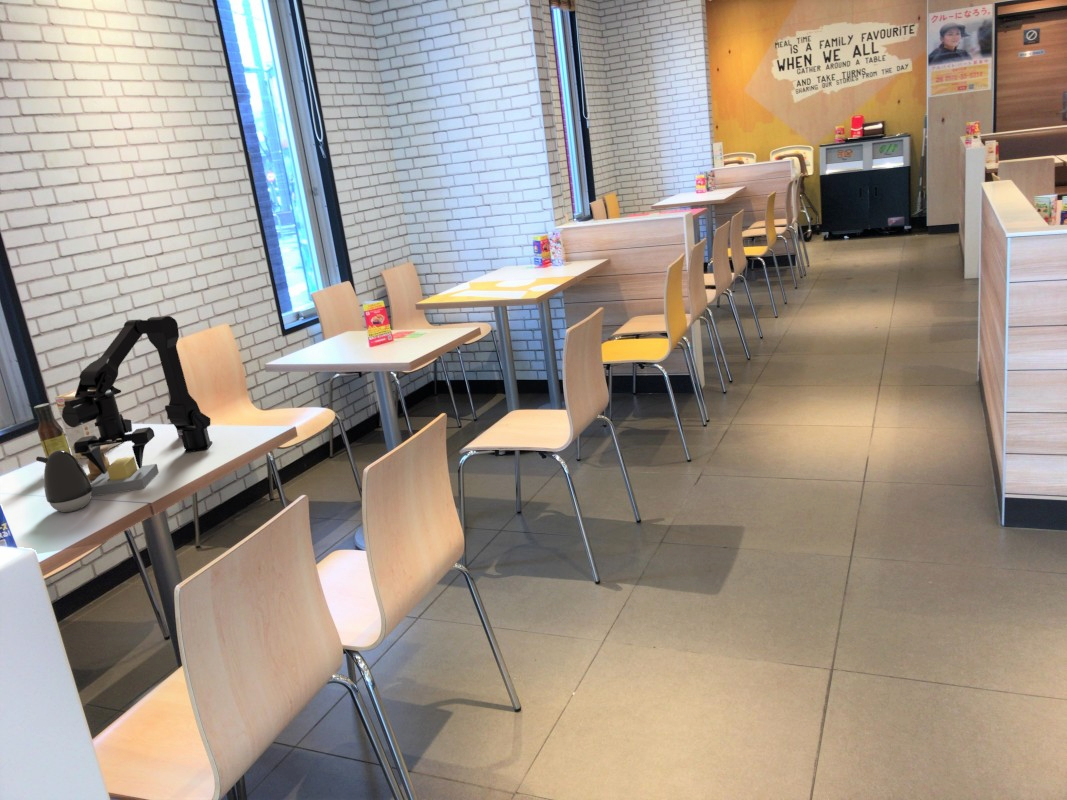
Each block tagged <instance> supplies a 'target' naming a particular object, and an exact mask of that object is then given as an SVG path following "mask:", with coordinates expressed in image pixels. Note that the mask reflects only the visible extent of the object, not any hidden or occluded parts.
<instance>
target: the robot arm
mask: <svg viewBox="0 0 1067 800" xmlns="http://www.w3.org/2000/svg"><path fill="white" fill-rule="evenodd" d="M143 335H146V336H147V338H148V340H149V342H150V343H151V344H152V346H153V347H154V348H155V349H156V350H157V352H158V353H157V354H158V356H159V360H160V364H161V367H162V371H163V375H164V379H165V382H166V386H167V389H168V390H169V393H170V398H171V399H170V401H169V402H168V404H167V405H165V406H164V409H165V412H166V416H167V420H169V421H170V423H171V424H173V425H174V427H175V429H176V431H177V430H182V434H183V435H182V436H181V438H180V439H181V441H182V445H183V449H184V453H190V452H197V451H204V450H208V449H209V448H210V447H211V445H212V444H213V441H212V440H211V439H210V435H209V431H208V427H210V426H211V417H209V416H207V415H206V414H205V413H203V412H201V409H200V407H199V405H198V402H197V401H196V400H195V399H194V398H193V397H192V396H191V394H190V393H189V390H188V386H187V382H186V379H185V375H184V371H183V367H182V363H181V360H180V356H179V351H178V348H177V344H178V341H179V336H180V333H179V325H178V322H177V320H176V318H174V317H172V316H170V315H166V316H164V315H162V316H150V317H148V318H147V319H145V320H144V319H140V318H139V319H129V320H127V321H125V322H124V324H123V327H122V329H121V330H120V331H119V333H118V334H117V335H116V337H115V338H114V339H113V341H112V342H110V344H109V346H108V347H107V348H106V350H105V351H104V353H102V355H101V356H100V357H99V358H98V359H96V360H94V361H92V362H91V363H89V364H88V365H87V366H86V367H85V368H84V369H83V370H82V371H81V372H80V374H79V382H78V385H77V388H76V389H77V391H76V394H75V399H72V400H67V401H65V402H64V403H65V407H64V408H63V411H62V417H63V420H64V421H65V423H66V424H67V425H68V426H70V427H77V426H79V425H82V424H85V423H87V422H90V421H92V420H95V419H96V422H95V427H96V426H98V429H99V433H100V436H101V437H99V439H97V437H96V436H95V435H94V436H88V437H81V438H80V439H79V440H78V441H76V442H75V443H74V446H73V448H74V451H75V453H76V454H77V453H81V456H86V457H87V458H86V459H88V461H89V460H90V461H92V462H93V463H94V464H95V465H96V466H97V468H98V469H99V470H100V471H101V472H102V473H103V474H105V473H106V468H105V465H104V462H103V459H102V456H101V453H100V446H101V445H107V444H114V443H120V444H122V443H126V442H131V443H132V444H133V445H132V446H131V447H132V452H133V455H134V459H135V462H136V466H137V468H138V469H139V468H141V467H142V466H143V460H144V457H143V456H144V451H145V446H146V445H147V444H148V443H149V442H150V441H151V440H152V439H153V438H154V437H156V435H155V432H154V429H152V428H151V427H150V426H148V427H143V428H136V429H135V430H134V431H133V425H132V420H131V419H127V418H126V419H125V418H124V416H123V414H122V413H120V410H119V407H118V404H117V399H116V397H115V395H118V394H121V393H122V390H121V389H119V388H117V387H115V386H114V384H115V382H116V380H117V379H118V376H119V369H120V366H121V364H122V363H123V362H124V360H125V359H126V358H127V356H128V354H129V353H130V352H131V350H132V349H133V348H134V346H135V345H136V344H137V342H138V341H139V340H140V338H141V337H142V336H143ZM88 390H96V391H88ZM168 390H167V391H168ZM130 432H131V433H130ZM117 439H119V440H117ZM107 440H111V441H107ZM121 442H122V443H121Z"/></svg>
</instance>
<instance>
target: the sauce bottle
mask: <svg viewBox="0 0 1067 800" xmlns="http://www.w3.org/2000/svg"><path fill="white" fill-rule="evenodd" d="M33 410H34V413H36V416H37V419H38V427H37V433H38V437H39V439H40V440H39V441H40V445H41V447H42V449H43V453H44V455H45V458H48V457H49V455H50V454H51V453H52V452H54V451H57V450H64V451H67V452H69V453H70V454H71V455H72V453H71V449H70V446H69V443H68V439H67V436H66V433H65V430H64V428H62V426H61V425H60V423H59V422H58V421H57V420H56V419H55V417H54V415H53V412H52V407H51V403H48V402H47V403H42V404H38V405H35V406H34V407H33Z"/></svg>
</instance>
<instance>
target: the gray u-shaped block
mask: <svg viewBox="0 0 1067 800" xmlns="http://www.w3.org/2000/svg"><path fill="white" fill-rule="evenodd" d="M159 473H160V472H159V469H158V464H157V463H153V464H152V463H151V464H145V465H142V467H141V468H139V467H138V468H137V471H136V472H135V473H134V474H133V475H132V476H131V477H130V478H124V479H118V480H111V481H110V477H109V474H108V471H106V473H105V474H103V473H102V474H101V475H100V476H99V477H97V478H96V479H95V480H94V481H91V482H90V483H91V485H92V491H91V492H92V494H91V497H98V496H102V495H103V496H104V495H109V494H116V493H122V492H128V491H134V490H141V489H146V487H147V486H148V484H149V483H151V481H152V480H153V479H154V478H155V477H156V476H157V475H158V474H159Z"/></svg>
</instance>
